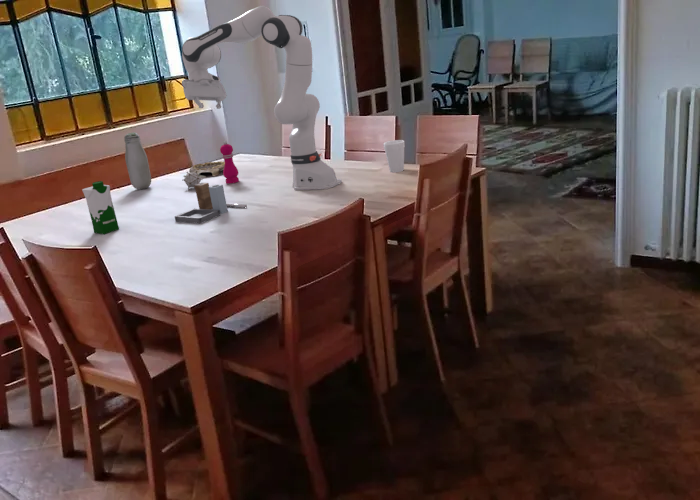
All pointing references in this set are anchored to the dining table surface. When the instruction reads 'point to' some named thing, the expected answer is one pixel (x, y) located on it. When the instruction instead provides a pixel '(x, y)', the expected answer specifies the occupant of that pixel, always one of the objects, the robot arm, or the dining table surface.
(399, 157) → the foam cup
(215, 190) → the greyblue block
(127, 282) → the dining table surface
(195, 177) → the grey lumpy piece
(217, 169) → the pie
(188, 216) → the tray
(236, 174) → the pepper mill
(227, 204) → the pin gauge
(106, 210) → the milk carton
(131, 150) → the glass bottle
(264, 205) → the dining table surface
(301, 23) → the robot arm
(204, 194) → the walnut block
